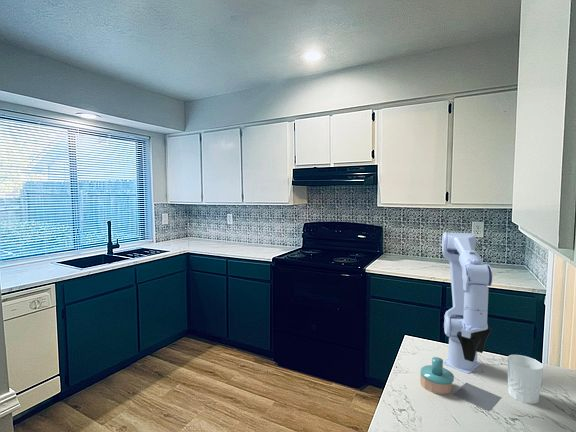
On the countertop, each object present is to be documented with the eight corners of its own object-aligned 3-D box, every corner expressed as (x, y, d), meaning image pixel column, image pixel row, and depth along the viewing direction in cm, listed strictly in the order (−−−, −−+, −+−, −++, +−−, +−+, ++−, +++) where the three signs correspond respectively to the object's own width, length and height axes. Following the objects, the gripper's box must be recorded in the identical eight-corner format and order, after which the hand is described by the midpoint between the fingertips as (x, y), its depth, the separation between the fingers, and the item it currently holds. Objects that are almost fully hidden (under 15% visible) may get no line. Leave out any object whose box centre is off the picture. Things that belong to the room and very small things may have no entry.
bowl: (428, 375, 98) (429, 365, 98) (455, 387, 92) (456, 376, 92) (415, 385, 93) (415, 374, 93) (442, 399, 87) (443, 386, 87)
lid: (430, 364, 98) (431, 349, 98) (459, 377, 91) (460, 361, 91) (414, 373, 93) (415, 357, 93) (443, 388, 86) (444, 370, 86)
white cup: (548, 408, 84) (550, 371, 83) (514, 404, 85) (515, 367, 85) (531, 390, 91) (533, 356, 91) (500, 387, 93) (502, 353, 92)
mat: (466, 383, 94) (466, 382, 94) (501, 398, 87) (501, 397, 87) (452, 395, 89) (452, 394, 89) (489, 412, 82) (489, 411, 82)
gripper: (468, 299, 97) (467, 343, 98) (450, 309, 87) (448, 359, 88) (495, 304, 92) (493, 351, 93) (479, 316, 82) (477, 369, 83)
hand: (473, 355), depth 90 cm, fingers open, 7 cm apart
